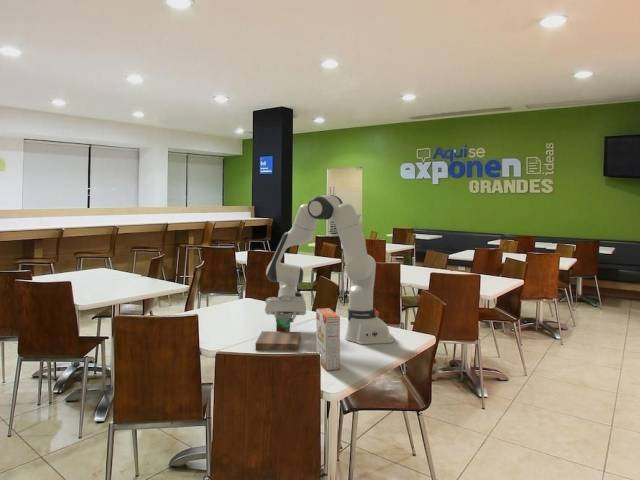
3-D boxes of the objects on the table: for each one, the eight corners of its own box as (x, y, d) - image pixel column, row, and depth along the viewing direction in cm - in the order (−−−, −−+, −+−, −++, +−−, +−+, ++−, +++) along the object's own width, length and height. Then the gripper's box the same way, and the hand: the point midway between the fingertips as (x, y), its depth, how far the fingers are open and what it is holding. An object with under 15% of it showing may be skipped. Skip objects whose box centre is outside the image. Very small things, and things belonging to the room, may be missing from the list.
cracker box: (315, 359, 188) (315, 308, 186) (329, 357, 189) (330, 307, 188) (324, 371, 174) (325, 316, 173) (340, 370, 176) (340, 315, 174)
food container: (287, 336, 219) (288, 315, 218) (275, 335, 220) (276, 314, 219) (294, 329, 231) (295, 309, 230) (282, 328, 232) (283, 308, 231)
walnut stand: (300, 338, 216) (300, 331, 216) (297, 350, 198) (297, 343, 198) (261, 337, 217) (261, 331, 216) (255, 350, 199) (255, 343, 198)
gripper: (265, 293, 231) (262, 317, 222) (306, 294, 230) (305, 318, 222) (266, 300, 236) (263, 324, 227) (307, 301, 235) (305, 325, 226)
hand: (284, 321), depth 224 cm, fingers open, 6 cm apart
